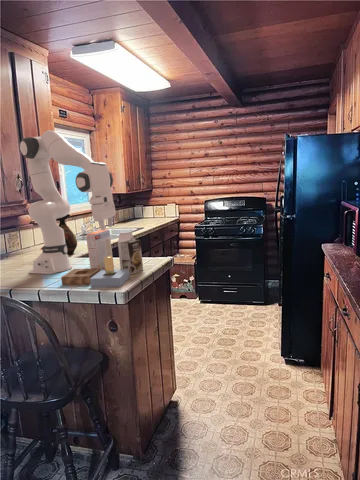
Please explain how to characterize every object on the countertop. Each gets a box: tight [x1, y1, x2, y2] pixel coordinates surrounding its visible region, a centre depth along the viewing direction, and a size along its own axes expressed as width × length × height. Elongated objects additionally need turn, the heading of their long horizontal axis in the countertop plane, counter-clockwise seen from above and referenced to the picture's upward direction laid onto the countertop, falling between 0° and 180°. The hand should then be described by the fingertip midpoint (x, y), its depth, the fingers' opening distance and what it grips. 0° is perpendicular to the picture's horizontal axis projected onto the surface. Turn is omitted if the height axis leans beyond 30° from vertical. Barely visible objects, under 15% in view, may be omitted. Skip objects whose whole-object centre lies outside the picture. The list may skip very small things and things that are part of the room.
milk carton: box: [117, 232, 136, 270], centre depth 187 cm, size 7×7×19 cm
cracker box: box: [85, 229, 114, 270], centre depth 186 cm, size 14×6×21 cm, turn 159°
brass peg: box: [104, 255, 115, 276], centre depth 163 cm, size 4×4×12 cm
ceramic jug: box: [56, 213, 78, 256], centre depth 232 cm, size 17×15×30 cm
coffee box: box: [120, 239, 144, 275], centre depth 178 cm, size 9×6×16 cm
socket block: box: [90, 269, 131, 288], centre depth 164 cm, size 14×14×4 cm
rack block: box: [60, 267, 101, 286], centre depth 170 cm, size 14×14×4 cm
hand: (107, 228), depth 161 cm, fingers open, 8 cm apart
